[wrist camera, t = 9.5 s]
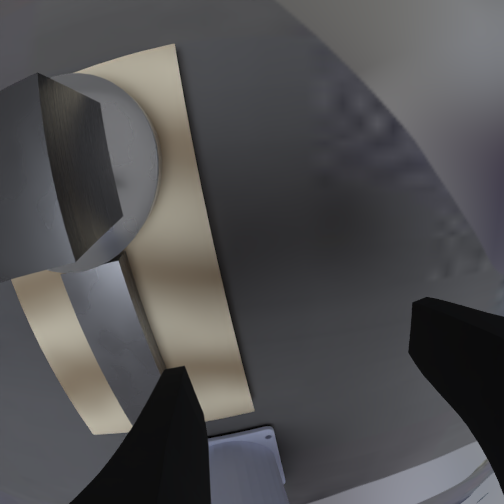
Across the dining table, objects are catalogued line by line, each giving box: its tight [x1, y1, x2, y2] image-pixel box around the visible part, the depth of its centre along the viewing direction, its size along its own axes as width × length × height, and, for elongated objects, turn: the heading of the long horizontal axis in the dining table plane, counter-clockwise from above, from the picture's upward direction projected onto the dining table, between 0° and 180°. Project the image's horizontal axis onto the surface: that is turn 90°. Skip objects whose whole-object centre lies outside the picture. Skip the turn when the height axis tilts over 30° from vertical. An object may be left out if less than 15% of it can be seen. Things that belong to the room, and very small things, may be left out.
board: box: [11, 44, 254, 435], centre depth 16 cm, size 22×12×1 cm, turn 10°
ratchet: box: [48, 73, 167, 426], centre depth 13 cm, size 21×9×4 cm, turn 10°
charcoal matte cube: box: [0, 73, 123, 282], centre depth 9 cm, size 5×5×6 cm
